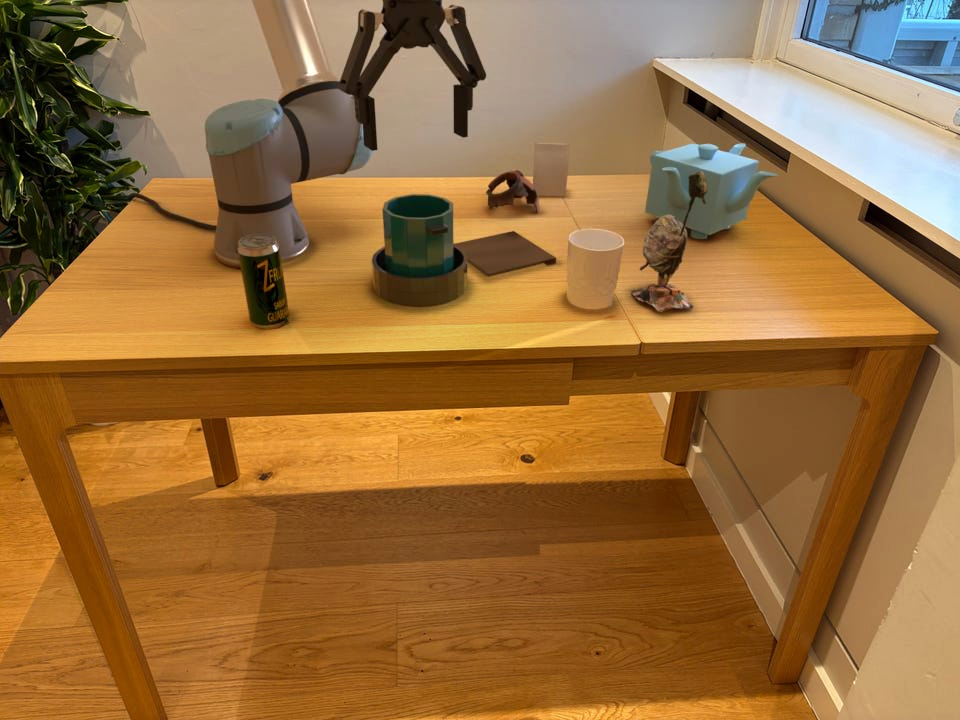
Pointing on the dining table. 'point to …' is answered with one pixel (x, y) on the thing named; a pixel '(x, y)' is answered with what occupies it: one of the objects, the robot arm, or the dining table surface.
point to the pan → (420, 283)
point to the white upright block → (550, 169)
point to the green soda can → (263, 280)
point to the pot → (419, 235)
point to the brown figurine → (668, 253)
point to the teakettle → (725, 178)
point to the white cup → (593, 267)
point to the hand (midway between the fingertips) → (417, 141)
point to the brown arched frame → (512, 190)
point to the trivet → (504, 253)
